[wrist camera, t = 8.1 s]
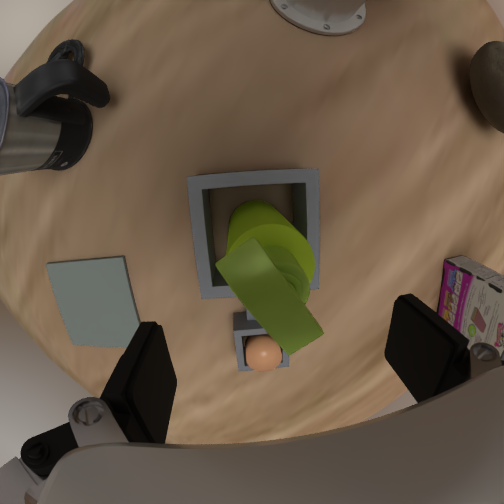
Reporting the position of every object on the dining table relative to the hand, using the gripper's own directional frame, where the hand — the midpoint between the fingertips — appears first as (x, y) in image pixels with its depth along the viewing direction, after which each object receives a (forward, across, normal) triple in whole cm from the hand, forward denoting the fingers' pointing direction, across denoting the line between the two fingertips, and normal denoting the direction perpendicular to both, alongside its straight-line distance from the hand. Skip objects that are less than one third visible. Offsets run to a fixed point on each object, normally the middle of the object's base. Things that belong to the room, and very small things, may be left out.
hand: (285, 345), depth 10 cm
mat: (+21, +22, +8) cm, 32 cm away
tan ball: (+19, 0, +13) cm, 23 cm away
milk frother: (+21, +22, -19) cm, 36 cm away
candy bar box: (+21, -31, +11) cm, 39 cm away
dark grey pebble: (+21, -37, -21) cm, 48 cm away
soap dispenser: (+21, 0, -1) cm, 21 cm away
